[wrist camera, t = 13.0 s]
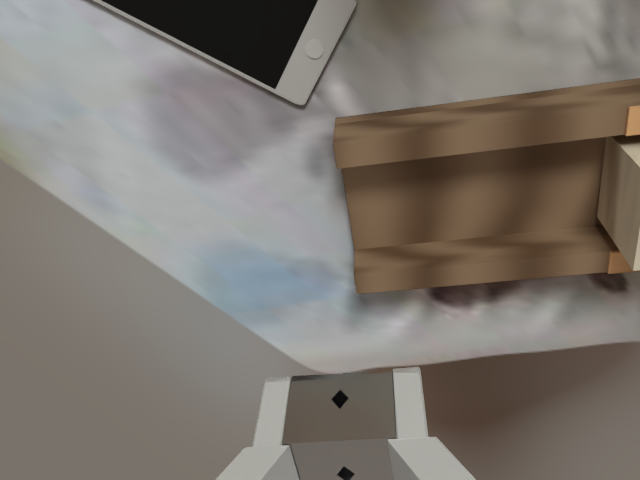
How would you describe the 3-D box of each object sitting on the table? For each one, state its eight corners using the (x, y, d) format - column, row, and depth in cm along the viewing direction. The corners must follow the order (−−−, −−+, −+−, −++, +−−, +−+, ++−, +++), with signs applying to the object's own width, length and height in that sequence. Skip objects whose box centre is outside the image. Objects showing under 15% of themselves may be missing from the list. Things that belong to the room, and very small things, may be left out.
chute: (357, 260, 42) (356, 295, 39) (335, 118, 37) (332, 145, 33) (679, 229, 39) (710, 264, 36) (711, 68, 33) (752, 92, 30)
